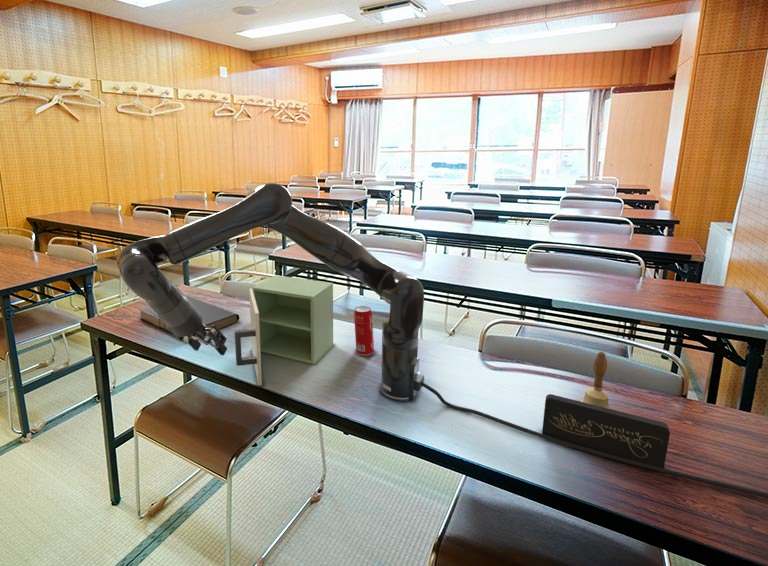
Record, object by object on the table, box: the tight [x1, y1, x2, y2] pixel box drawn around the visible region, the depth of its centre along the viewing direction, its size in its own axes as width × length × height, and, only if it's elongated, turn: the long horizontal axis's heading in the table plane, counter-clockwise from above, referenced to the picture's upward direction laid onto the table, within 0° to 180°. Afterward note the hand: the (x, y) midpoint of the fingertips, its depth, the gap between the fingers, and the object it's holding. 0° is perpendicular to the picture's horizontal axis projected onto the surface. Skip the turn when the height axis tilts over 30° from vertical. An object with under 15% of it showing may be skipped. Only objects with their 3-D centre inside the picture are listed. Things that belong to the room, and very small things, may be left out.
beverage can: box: [353, 305, 375, 357], centre depth 138 cm, size 6×6×15 cm
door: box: [234, 287, 263, 387], centre depth 129 cm, size 7×22×22 cm, turn 9°
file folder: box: [139, 295, 240, 334], centre depth 169 cm, size 33×4×24 cm
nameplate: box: [541, 393, 671, 473], centre depth 91 cm, size 21×2×10 cm, turn 56°
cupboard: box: [251, 274, 334, 365], centre depth 141 cm, size 15×22×22 cm
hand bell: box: [579, 351, 611, 409], centre depth 103 cm, size 8×8×16 cm
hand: (211, 349), depth 109 cm, fingers open, 8 cm apart
